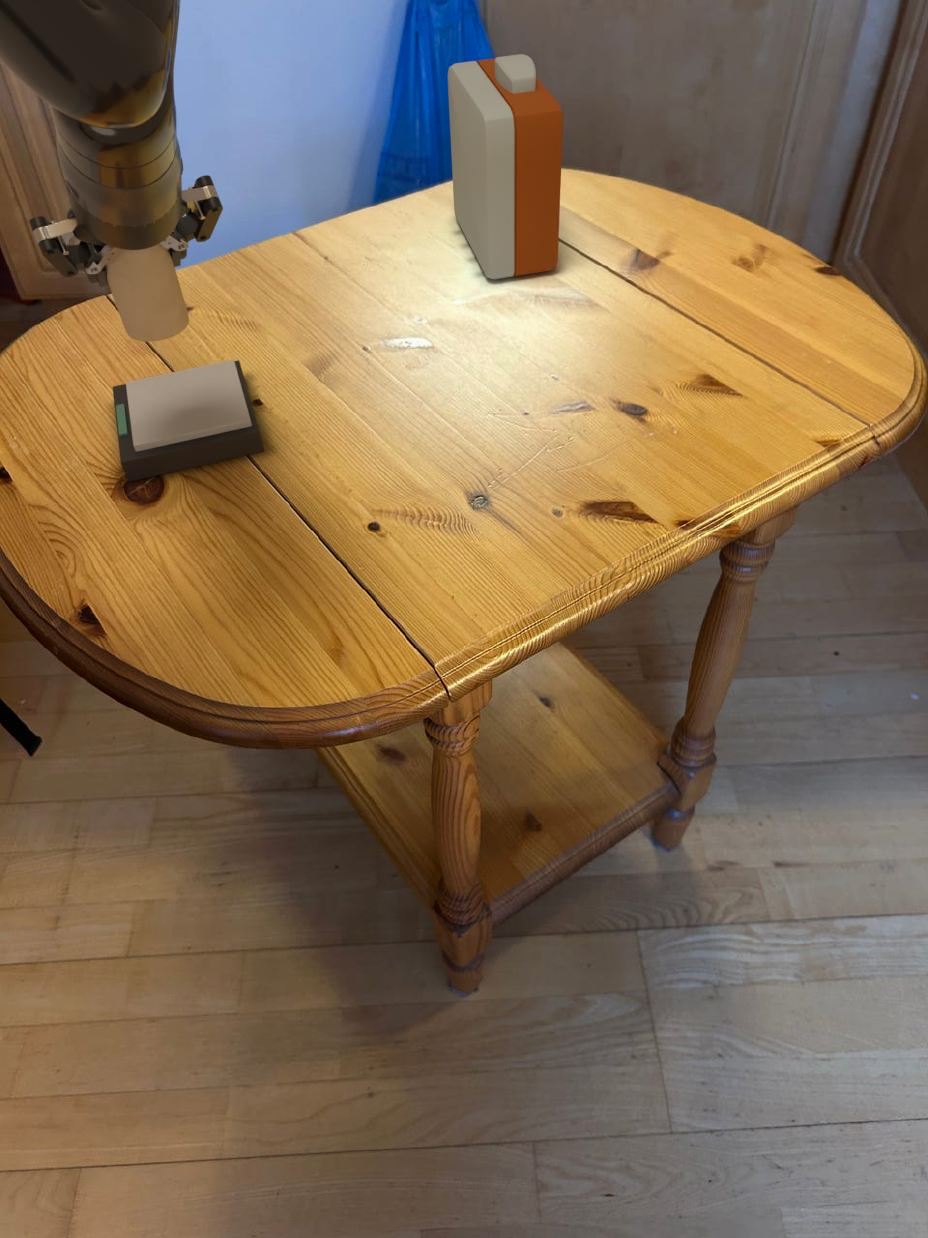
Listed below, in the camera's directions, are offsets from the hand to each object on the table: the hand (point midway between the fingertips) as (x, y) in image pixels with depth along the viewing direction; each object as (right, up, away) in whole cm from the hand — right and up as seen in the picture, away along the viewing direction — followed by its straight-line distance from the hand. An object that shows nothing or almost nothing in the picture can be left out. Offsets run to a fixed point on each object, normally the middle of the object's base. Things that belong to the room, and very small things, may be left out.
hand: (135, 265), depth 76 cm
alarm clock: (+33, +17, +37) cm, 52 cm away
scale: (0, -11, +15) cm, 18 cm away
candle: (+1, -4, +3) cm, 5 cm away
